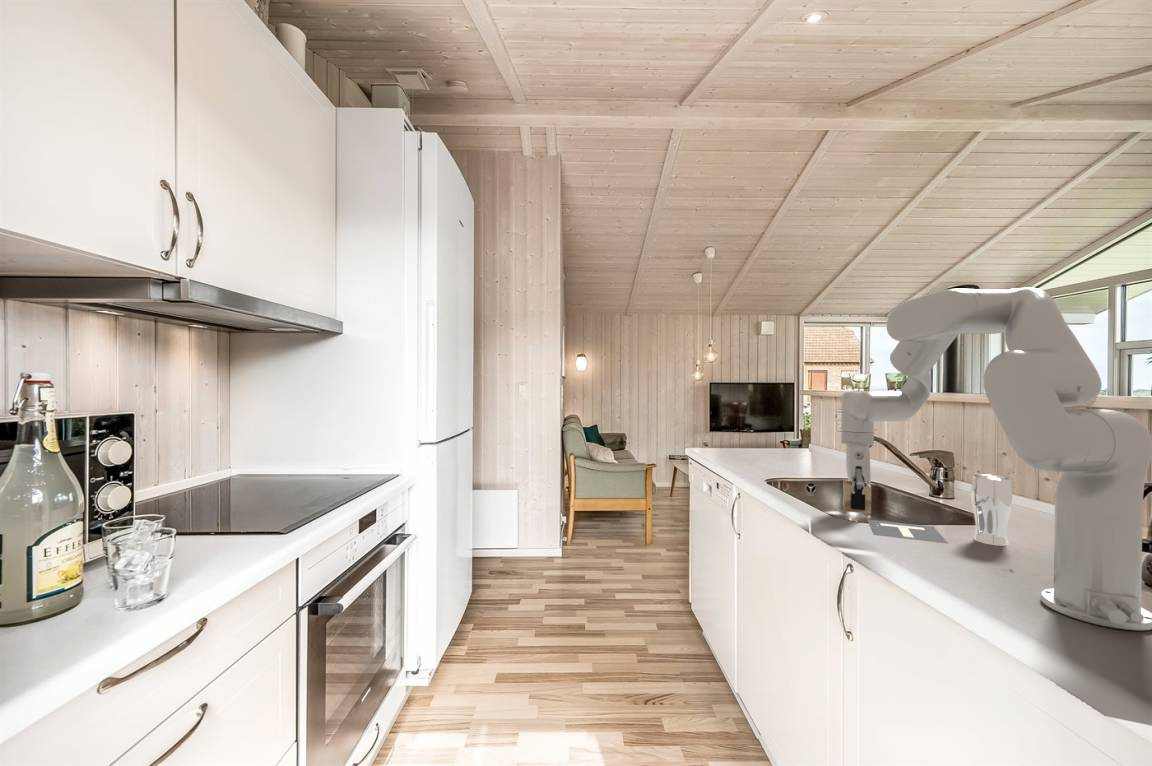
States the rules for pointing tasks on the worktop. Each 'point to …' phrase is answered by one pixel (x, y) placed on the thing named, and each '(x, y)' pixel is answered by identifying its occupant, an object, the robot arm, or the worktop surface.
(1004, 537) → the beer glass
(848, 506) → the oak block
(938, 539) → the letter mat
